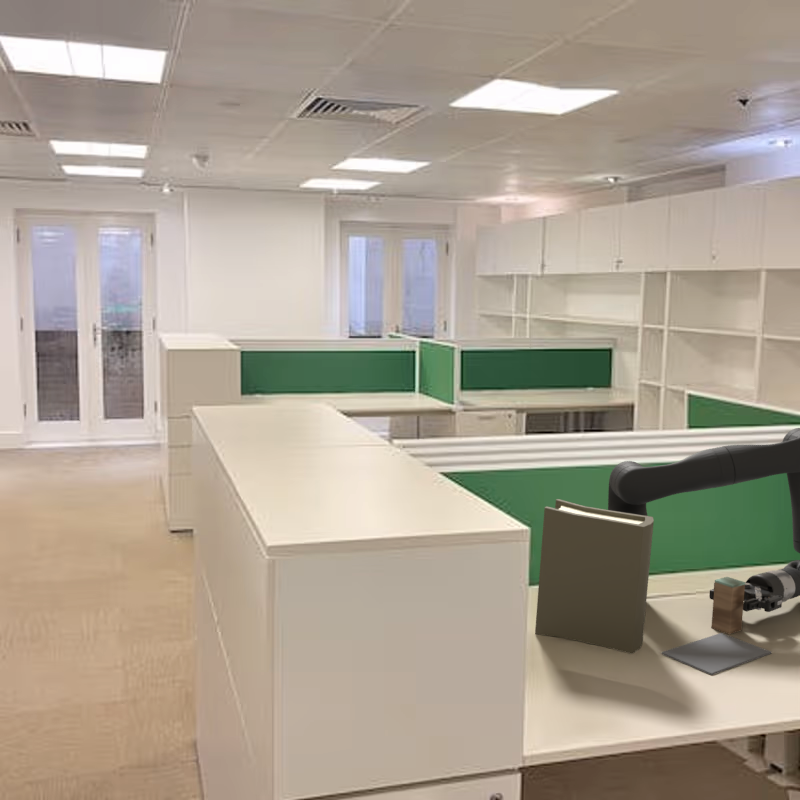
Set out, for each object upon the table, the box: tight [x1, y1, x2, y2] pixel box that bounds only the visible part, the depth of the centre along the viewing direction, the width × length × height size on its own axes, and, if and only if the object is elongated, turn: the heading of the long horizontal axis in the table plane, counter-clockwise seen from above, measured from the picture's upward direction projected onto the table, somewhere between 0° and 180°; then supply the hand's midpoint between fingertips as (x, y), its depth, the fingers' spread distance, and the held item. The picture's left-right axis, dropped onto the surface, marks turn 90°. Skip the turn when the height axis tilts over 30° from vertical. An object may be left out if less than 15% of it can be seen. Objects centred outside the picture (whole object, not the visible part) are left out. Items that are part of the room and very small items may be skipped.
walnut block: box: [710, 576, 746, 635], centre depth 200 cm, size 4×4×11 cm
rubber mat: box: [661, 632, 772, 676], centre depth 187 cm, size 20×12×1 cm, turn 125°
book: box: [534, 498, 655, 654], centre depth 193 cm, size 22×9×28 cm, turn 63°
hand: (727, 600), depth 200 cm, fingers open, 8 cm apart
